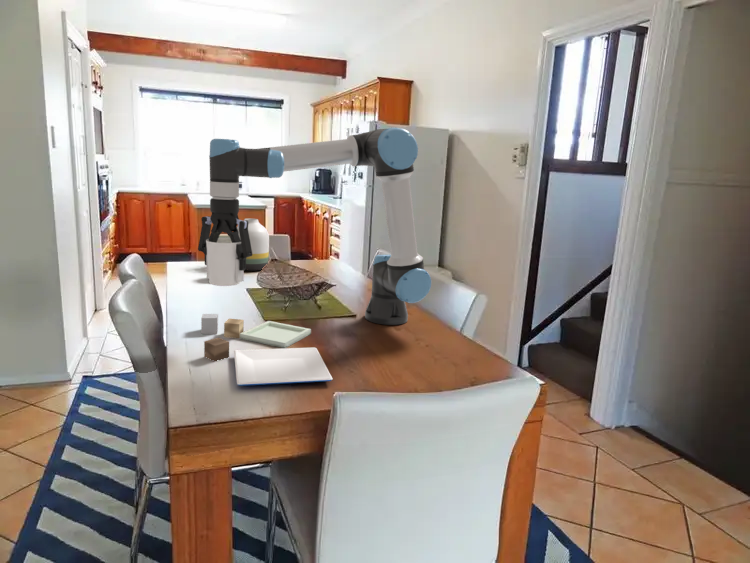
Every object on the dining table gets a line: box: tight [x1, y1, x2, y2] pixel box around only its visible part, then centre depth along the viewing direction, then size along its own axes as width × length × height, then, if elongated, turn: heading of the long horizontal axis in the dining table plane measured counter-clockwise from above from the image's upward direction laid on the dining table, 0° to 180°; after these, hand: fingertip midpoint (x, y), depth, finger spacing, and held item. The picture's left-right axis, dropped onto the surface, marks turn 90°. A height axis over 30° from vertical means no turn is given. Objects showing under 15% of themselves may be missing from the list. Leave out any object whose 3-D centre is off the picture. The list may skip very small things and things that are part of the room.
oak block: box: [223, 318, 245, 339], centre depth 156 cm, size 4×4×4 cm
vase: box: [236, 218, 270, 272], centre depth 249 cm, size 17×17×24 cm
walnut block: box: [203, 337, 230, 362], centre depth 138 cm, size 4×4×4 cm
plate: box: [233, 347, 333, 387], centre depth 133 cm, size 22×22×2 cm
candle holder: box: [206, 237, 241, 287], centre depth 145 cm, size 10×10×12 cm
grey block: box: [200, 313, 219, 335], centre depth 158 cm, size 4×4×5 cm
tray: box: [239, 320, 312, 349], centre depth 158 cm, size 15×15×2 cm
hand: (225, 279), depth 146 cm, fingers closed on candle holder, 9 cm apart
